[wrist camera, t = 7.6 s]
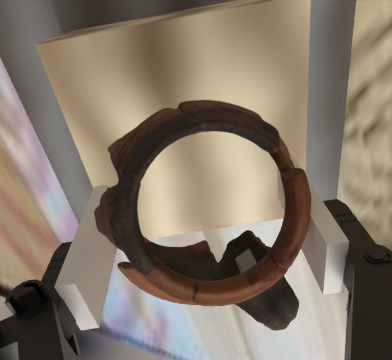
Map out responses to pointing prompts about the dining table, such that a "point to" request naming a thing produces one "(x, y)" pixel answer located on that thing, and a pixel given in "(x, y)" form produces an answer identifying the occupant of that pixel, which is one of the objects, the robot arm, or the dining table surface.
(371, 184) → the dining table surface
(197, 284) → the pottery mug
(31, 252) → the dining table surface
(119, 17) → the build base
